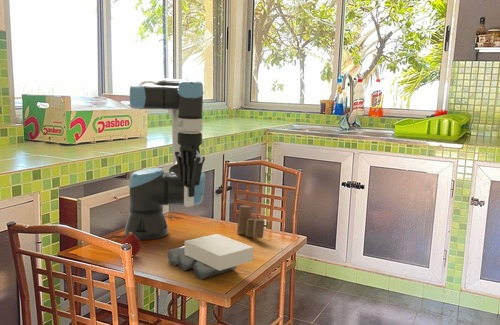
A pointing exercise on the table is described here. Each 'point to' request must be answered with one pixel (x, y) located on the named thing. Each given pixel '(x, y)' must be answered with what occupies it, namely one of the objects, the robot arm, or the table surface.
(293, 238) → the table surface
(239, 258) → the slab
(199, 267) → the roller
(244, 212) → the wooden block set
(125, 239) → the onion
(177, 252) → the cylinder
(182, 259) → the roller front
